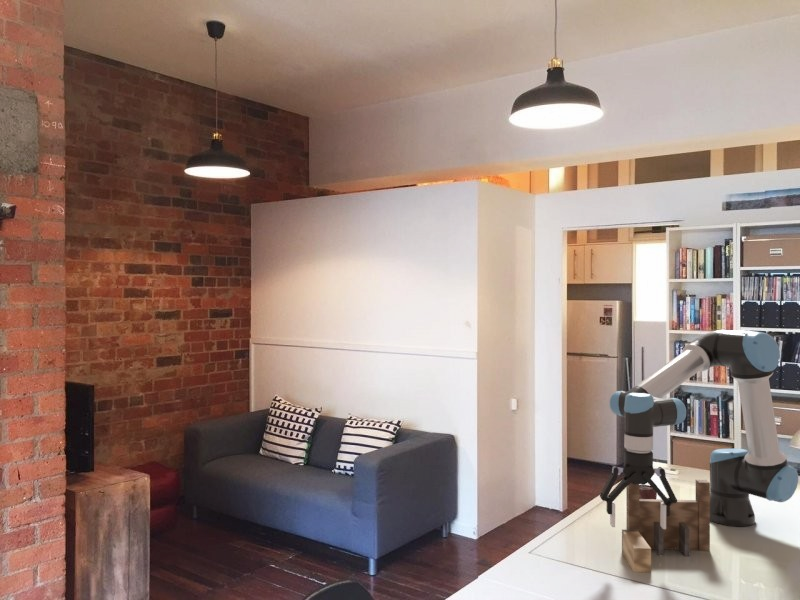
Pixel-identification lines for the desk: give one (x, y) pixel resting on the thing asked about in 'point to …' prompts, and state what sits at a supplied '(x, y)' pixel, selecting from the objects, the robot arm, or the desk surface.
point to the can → (646, 492)
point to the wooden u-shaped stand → (672, 520)
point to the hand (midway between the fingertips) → (637, 526)
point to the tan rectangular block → (636, 551)
